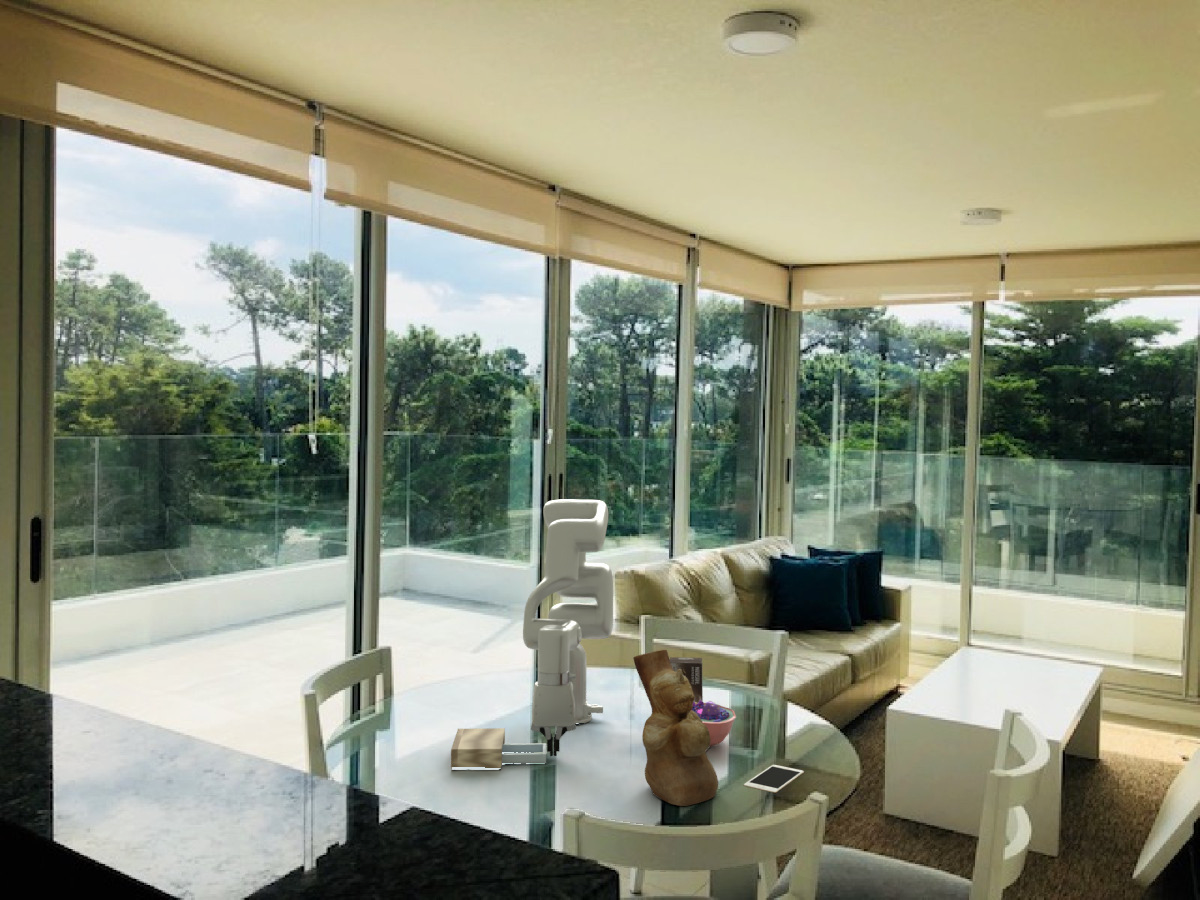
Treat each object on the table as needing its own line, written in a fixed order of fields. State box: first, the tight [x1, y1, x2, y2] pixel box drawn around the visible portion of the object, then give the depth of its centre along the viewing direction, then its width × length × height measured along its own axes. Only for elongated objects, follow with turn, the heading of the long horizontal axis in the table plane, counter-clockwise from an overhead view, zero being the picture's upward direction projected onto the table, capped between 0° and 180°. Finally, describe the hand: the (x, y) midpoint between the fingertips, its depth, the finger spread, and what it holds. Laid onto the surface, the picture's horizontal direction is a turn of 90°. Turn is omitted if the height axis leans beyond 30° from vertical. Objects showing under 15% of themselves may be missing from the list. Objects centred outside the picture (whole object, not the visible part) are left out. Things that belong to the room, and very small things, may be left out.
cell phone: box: [743, 764, 805, 794], centre depth 222 cm, size 8×16×1 cm, turn 146°
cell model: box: [691, 700, 737, 748], centre depth 246 cm, size 17×20×11 cm
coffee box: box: [669, 656, 704, 703], centre depth 268 cm, size 9×6×16 cm
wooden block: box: [450, 727, 506, 768], centre depth 234 cm, size 12×16×5 cm
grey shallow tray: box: [502, 742, 547, 764], centre depth 234 cm, size 14×8×2 cm, turn 93°
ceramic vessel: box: [632, 648, 719, 807], centre depth 214 cm, size 16×22×30 cm
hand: (553, 754), depth 234 cm, fingers closed
